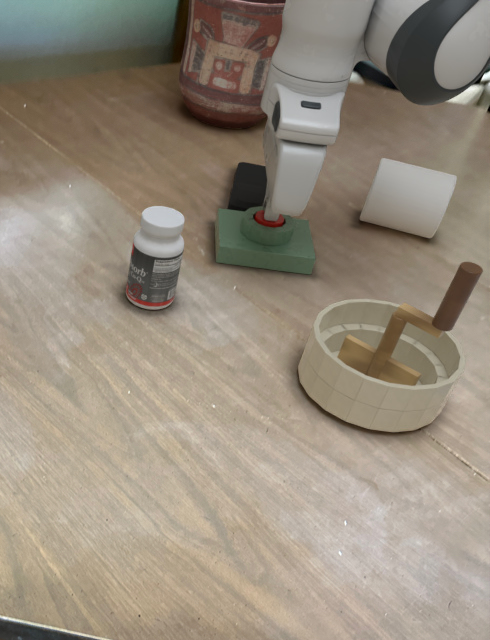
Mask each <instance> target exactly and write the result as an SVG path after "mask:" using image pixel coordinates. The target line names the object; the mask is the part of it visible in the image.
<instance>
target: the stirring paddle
mask: <svg viewBox="0 0 490 640" xmlns="http://www.w3.org/2000/svg"><path fill="white" fill-rule="evenodd" d="M483 272H484V270H483V267H482V266H481V265H479V264H478V263H475V262H472V261H462V262H461V263H460V264H459V266H458V267H457V270H456V271H455V275H454V276H453V278H452V280H451V282H450V284H449V286H448V288H447V291H446V292H445V294H444V296H443V298H442V299H441V301H440V304H439V306H438V308H437V310H436V312H435V314H434V315H433V316H432V315H430V314H427V313H426V312H424V311H422V310H420V309H418V308H416V307H414V306H412V305H410V304H408V303H407V302H403V303H402V304H399V305H400V306H399V307H398V309H397V311H395V312H393V314H392V316H391V318H390V320H389V323H388V325H387V327H386V329H385V332H384V334H383V336H382V338H381V340H380V343H379V345H378V347H377V349H375V348H373V347H372V346H370V345H368V344H366V343H364V342H362V341H361V340H359V339H357V338H355V337H353V336H352V335H350V334H349V335H348V336H346V337H345V339H344V342H343V344H342V347H341V349H340V352H339V354H338V357H337V358H339V359H340V360H341V361H342V362H343V363H345V364H346V365H347V366H349V367H351V368H353V369H355V370H357V371H359V372H361V373H363V374H365V375H366V376H370V377H373V378H376V379H379V380H382V381H385V382H389V383H395V384H402V385H410V386H416V384H417V382H418V380H419V378H420V376H421V374H420V373H419V372H417V371H415V370H413V369H411V368H410V367H408V366H406V365H404V364H402V363H401V362H399V361H397V360H395V359H393V358H391V355H392V353H393V351H394V349H395V347H396V345H397V343H398V340H399V338H400V336H401V334H402V332H403V330H404V328H405V326H406V323H407V322H408V323H410V324H412V325H414V326H416V327H418V328H420V329H422V330H423V331H425V332H427V333H429V334H431V335H433V336H435V337H437V338H439V337H441V336H442V335H443V334H444V333H445V331H450V332H451V331H453V330H454V327H455V325H456V324H457V322H458V319H459V318H460V316H461V314H462V312H463V310H464V308H465V307H466V305H467V303H468V300H469V299H470V297H471V295H472V293H473V291H474V290H475V287H476V286H477V284H478V282H479V279H480V277H481V276H482V274H483Z"/></svg>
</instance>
